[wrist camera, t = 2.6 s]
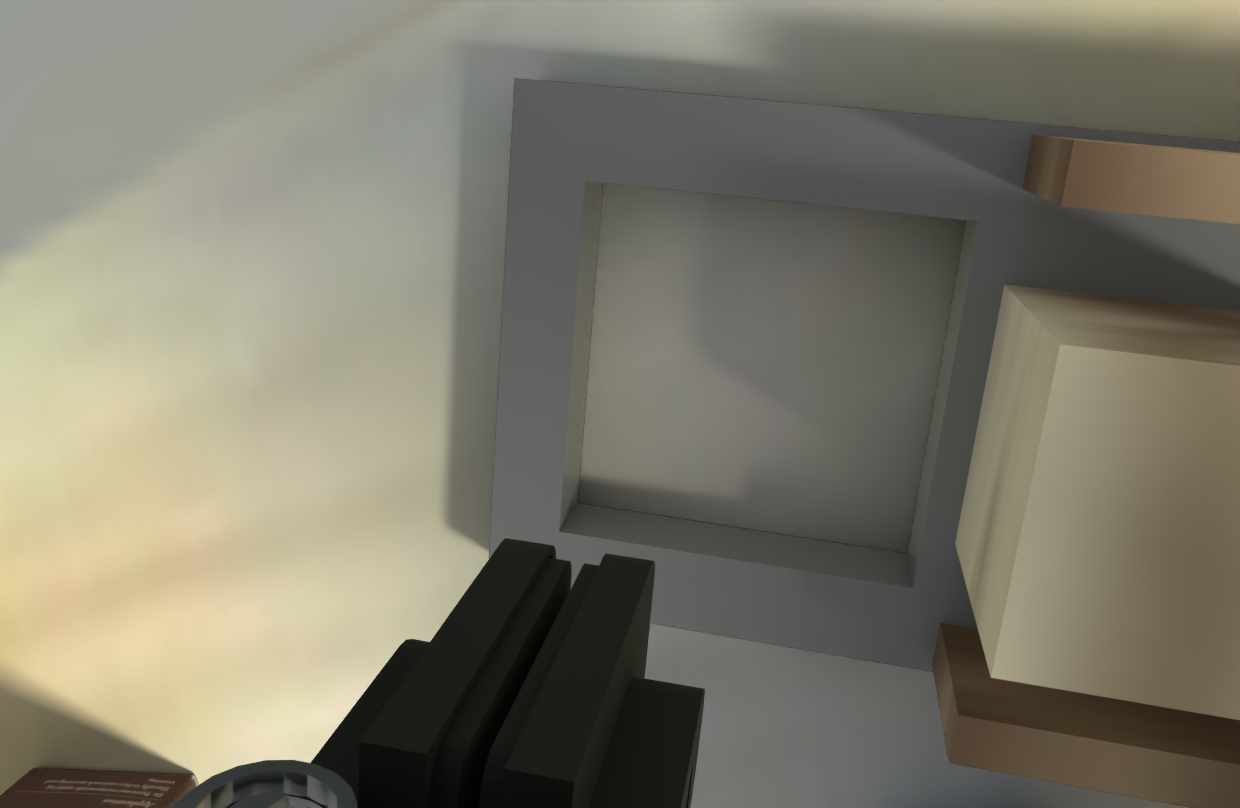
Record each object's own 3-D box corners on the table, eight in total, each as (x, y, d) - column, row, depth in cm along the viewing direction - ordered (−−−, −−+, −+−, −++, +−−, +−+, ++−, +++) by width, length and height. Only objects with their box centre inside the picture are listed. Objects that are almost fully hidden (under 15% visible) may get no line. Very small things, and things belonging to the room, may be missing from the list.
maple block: (1311, 319, 22) (1479, 394, 16) (1236, 586, 23) (1365, 742, 18) (1004, 284, 23) (1059, 344, 17) (955, 543, 24) (991, 677, 19)
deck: (2239, 230, 20) (2385, 243, 18) (1943, 801, 23) (2040, 861, 22) (538, 80, 25) (514, 78, 23) (509, 563, 29) (486, 595, 27)
